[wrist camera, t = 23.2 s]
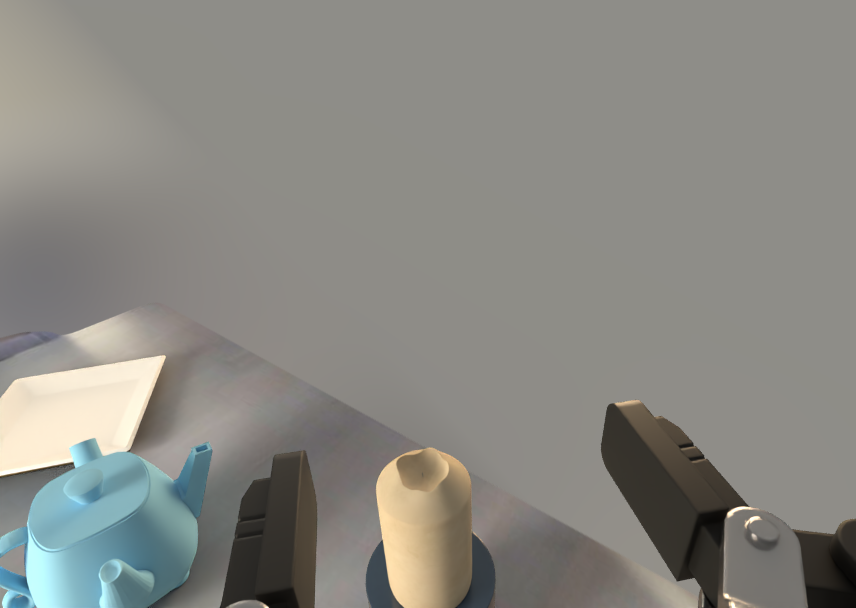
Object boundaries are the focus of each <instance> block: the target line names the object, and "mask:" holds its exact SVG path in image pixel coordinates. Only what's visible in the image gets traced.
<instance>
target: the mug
mask: <svg viewBox="0 0 856 608" xmlns="http://www.w3.org/2000/svg"><path fill="white" fill-rule="evenodd" d="M495 582H496V579H495V568H494V563H493V560H492V557H491V555H490V553H489V551H488V549H487V547H486V546H485V544H484V543H483V542H482V540H481V539H480V538H479V537H478V536H477V535H476V534H475V533H474V532H472V579H471V584H470V587H469V590H468V592H467V595H466V596H465V598H464V599H463V600H462V602H461V603H460V604H459V605H458V606H457V607H455V608H495ZM366 592H367V598H368V603H369V608H404V607H403V606H402V605H401V604H400V603H399V602H398V601H397V599H396V598H395V596H394V594H393V592H392V590H391V587H390V583H389V578H388V572H387V565H386V558H385V551H384V544H383V540H382V541H381V542H380V543H379V545H378V546H377V547H376V549H375V551H374V552H373V554H372V556H371V558H370V561H369V564H368V567H367V573H366Z"/></svg>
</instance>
